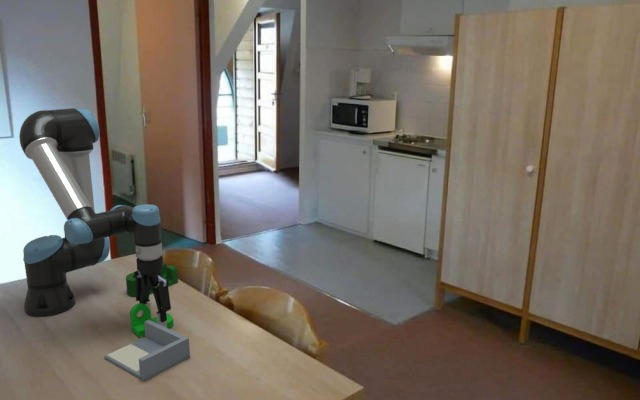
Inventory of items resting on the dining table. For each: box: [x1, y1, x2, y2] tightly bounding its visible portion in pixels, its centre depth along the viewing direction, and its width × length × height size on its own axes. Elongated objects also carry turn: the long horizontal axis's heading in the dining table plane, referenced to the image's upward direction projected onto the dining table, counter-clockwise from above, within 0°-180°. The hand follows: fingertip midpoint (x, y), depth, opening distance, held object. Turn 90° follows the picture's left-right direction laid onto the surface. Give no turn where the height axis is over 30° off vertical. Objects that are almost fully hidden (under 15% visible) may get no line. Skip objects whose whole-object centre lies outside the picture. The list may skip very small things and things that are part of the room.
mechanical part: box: [129, 303, 174, 339], centre depth 166 cm, size 12×6×8 cm, turn 129°
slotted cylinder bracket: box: [125, 262, 179, 298], centre depth 197 cm, size 18×9×6 cm, turn 147°
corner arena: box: [103, 320, 191, 382], centre depth 150 cm, size 18×15×6 cm
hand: (154, 326), depth 168 cm, fingers closed on mechanical part, 7 cm apart
